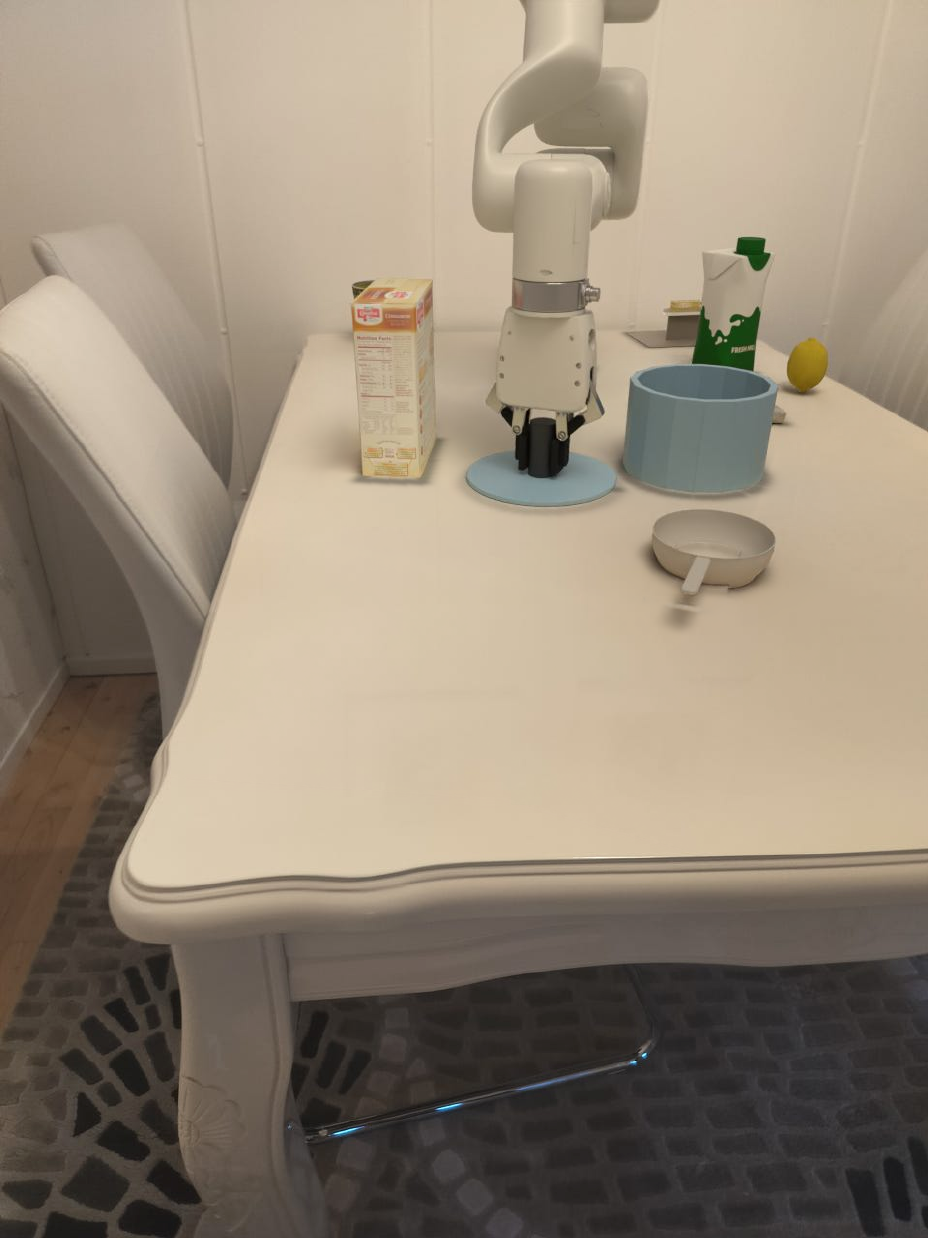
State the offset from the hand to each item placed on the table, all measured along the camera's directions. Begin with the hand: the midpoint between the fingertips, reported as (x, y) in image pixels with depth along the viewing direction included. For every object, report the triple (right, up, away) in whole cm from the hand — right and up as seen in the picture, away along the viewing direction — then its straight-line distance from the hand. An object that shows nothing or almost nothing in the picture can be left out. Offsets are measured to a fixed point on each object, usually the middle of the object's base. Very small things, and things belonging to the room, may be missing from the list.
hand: (541, 467), depth 99 cm
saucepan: (+12, -14, -20) cm, 28 cm away
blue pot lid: (0, -1, +1) cm, 1 cm away
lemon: (+42, +17, +33) cm, 55 cm away
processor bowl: (+18, 0, +4) cm, 18 cm away
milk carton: (+33, +23, +44) cm, 59 cm away
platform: (+32, +35, +65) cm, 80 cm away
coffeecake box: (-16, +2, +8) cm, 18 cm away
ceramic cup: (-23, +33, +61) cm, 73 cm away
